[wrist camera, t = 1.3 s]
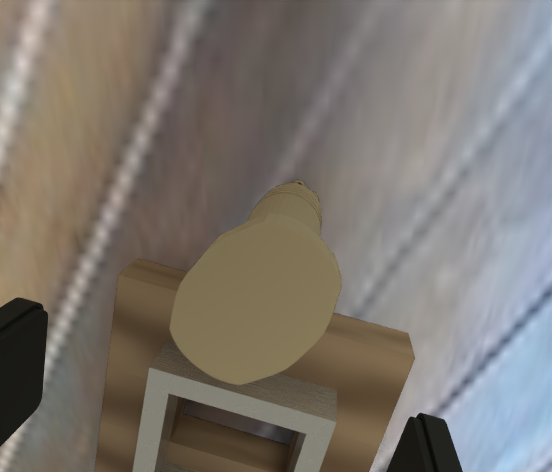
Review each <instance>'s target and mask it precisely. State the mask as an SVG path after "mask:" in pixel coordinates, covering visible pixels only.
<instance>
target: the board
mask: <svg viewBox="0 0 552 472" xmlns="http://www.w3.org/2000/svg"><path fill="white" fill-rule="evenodd" d="M187 273H188V272H185V271H181V270H178V269H174V268H170V267H167V266H163V265H160V264H156V263H152V262H149V261H145V260H142V259H137V260H136V261H134V262H133V263H132V264H131V265H130V266H128V267H127V268H126V269H125V270H123V271H122V272H121V273H120V274H119V275H118V282H117V290H116V298H115V307H114V315H113V323H112V331H111V340H110V348H109V356H108V364H107V372H106V381H105V389H104V397H103V405H102V414H101V422H100V430H99V438H98V447H97V455H96V463H95V471H94V472H132V471H133V465H134V459H135V453H136V447H137V440H138V434H139V428H140V422H141V415H142V409H143V403H144V397H145V391H146V384H147V378H148V372H149V367H150V366H151V364H152V363H153V361H154V360H155V358H156V357H157V356H158V354H159V353H160V351H161V350H162V348H163V347H164V345H165V344H166V343H167V342H170V343H173V344H176V343H175V341H174V339H173V337H172V335H171V332H170V329H169V328H170V323H171V317H172V312H173V307H174V302H175V297H176V294H177V291H178V288H179V286H180V283H181V282H182V280H183V279H184V277H185V276H186V274H187ZM414 360H415V356H414V352H413V349H412V345H411V342H410V338H409V335H408V333H405V332H401V331H397V330H394V329H390V328H387V327H383V326H379V325H376V324H372V323H369V322H365V321H361V320H358V319H354V318H351V317H347V316H343V315H340V314H336V313H333V314H332V317H331V319H330V322H329V324H328V326H327V328H326V330H325V332H324V334H323V335H322V336H321V337H320V339H319V340H318V341H317V342H316V343H315V344H314V345H313V346H312V347H311V348H310V349H309V350H308V351H307V352H306V353H305V354H304V355H302V356H301V357H300V358H299V359H298V360H297V361H296V362H295V363H293V364H292V365H291V366H289V367H288V368H287V369H285V370H283V371H281V372H279V373H278V374H281V375H285V376H288V377H292V378H295V379H299V380H302V381H306V382H309V383H313V384H316V385H320V386H323V387H326V388H330V389H333V390H337V422H336V425H335V428H334V431H333V434H332V436H331V439H330V442H329V445H328V448H327V451H326V453H325V456H324V459H323V462H322V465H321V467H320V470H319V472H369V470H370V468H371V465H372V463H373V460H374V458H375V456H376V453H377V451H378V448H379V446H380V443H381V441H382V438H383V436H384V433H385V431H386V428H387V426H388V424H389V421H390V419H391V416H392V414H393V411H394V409H395V406H396V404H397V401H398V399H399V396H400V394H401V392H402V389H403V387H404V384H405V382H406V379H407V377H408V374H409V372H410V369H411V367H412V364H413V362H414ZM185 402H186V398H182V397H179V396H178V401H177V407H176V412H175V417H174V422H173V427H172V432H171V438H170V443H169V448H168V453H167V458H166V462H169V463H172V464H176V465H179V466H182V467H186V468H189V469H192V470H195V471H199V472H287V470H288V467H289V464H290V461H291V458H292V455H293V452H294V449H295V446H296V442H297V439H298V436H299V433H300V432H298V431H294V434H293V437H292V441H291V444H290V446H289V445H286V444H283V443H279V442H276V441H273V440H269V439H266V438H262V437H259V436H256V435H252V434H249V433H246V432H242V431H239V430H235V429H232V428H229V427H225V426H222V425H219V424H215V423H212V422H208V421H205V420H202V419H198V418H195V417H192V416H188V415H185V414H183V412H184V407H185Z"/></svg>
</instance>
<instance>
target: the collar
mask: <svg viewBox="0 0 552 472" xmlns="http://www.w3.org/2000/svg"><path fill="white" fill-rule="evenodd" d="M178 396H179V397H182V398H186V399H189V400H193V401H196V402H199V403H203V404H206V405H210V406H213V407H216V408H220V409H223V410H227V411H230V412H233V413H237V414H240V415H244V416H247V417H250V418H254V419H257V420H261V421H264V422H267V423H271V424H274V425H278V426H281V427H284V428H288V429H291V430H295V431H298V432H300V433H299V436H298V439H297V442H296V446H295V449H294V452H293V455H292V458H291V461H290V464H289V467H288V470H287V472H319V470H320V467H321V465H322V462H323V459H324V456H325V453H326V451H327V448H328V445H329V442H330V439H331V436H332V434H333V431H334V428H335V425H336V422H337V390H333V389H330V388H326V387H323V386H320V385H316V384H313V383H309V382H306V381H302V380H299V379H295V378H292V377H288V376H285V375H281V374H278V373H277V374H274V375H272V376H268V377H265V378H262V379H259V380H256V381H252V382H249V383H246V384H242V385H237V384H231V383H227V382H224V381H221V380H218V379H216V378H214V377H212V376H210V375H208V374H207V373H205V372H204V371H202V370H201V369H199V368H198V367H196V366H195V365H194V364H193V363H192V362H191V361H190V360H189V359H188V358H186V356H185V355H184V354H183V353H182V352H181V350H180V349H179V348H178V347H177V345H176V344H173V343H170V342H167V343H166V344H165V345H164V347H163V348H162V350H161V351H160V353H159V354H158V356H157V357H156V358H155V360H154V361H153V363H152V364H151V366H150V367H149V372H148V378H147V384H146V391H145V397H144V403H143V409H142V415H141V422H140V428H139V434H138V440H137V447H136V453H135V459H134V465H133V471H132V472H199V471H195V470H192V469H189V468H186V467H182V466H179V465H176V464H172V463H169V462H166V458H167V453H168V448H169V443H170V438H171V432H172V427H173V422H174V417H175V412H176V407H177V401H178Z"/></svg>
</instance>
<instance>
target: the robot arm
mask: <svg viewBox="0 0 552 472" xmlns="http://www.w3.org/2000/svg"><path fill="white" fill-rule="evenodd" d="M47 324H48V313H47V312H46V311H44V309H43V306H42V304H40V303H37V302H34V301H30V300H27V299H23V298H15V299H13V300H12V301H10V302H8V303H7V304H5V305H4V306H2V307H0V446H1V445H2V444H3V443H4V442H5V441H6V440H7V439H8V438H9V437H10V436H11V435H12V434H13V433H14V432H15V431H16V430H17V429H18V428H19V427H20V426H21V425H22V424H23V423H24V422H25V421H26V420H27V419H28V418H29V417H30V416H31V415H32V414H33V413H34V411H35V410H36V409H37V407H38V406H39V404H40V402H41V399H42V391H43V377H44V364H45V351H46V337H47ZM387 472H463V471H462V468H461V465H460V462H459V459H458V456H457V453H456V450H455V447H454V444H453V441H452V439H451V436H450V433H449V430H448V427H447V424H446V422H445V420H443V419H441V418H437V417H434V416H430V415H427V414H423V413H419V414H418V415H417V417H416V418H415V417H410V418H409V419H408V421H407V423H406V426H405V428H404V431H403V433H402V435H401V438H400V440H399V443H398V445H397V448H396V450H395V452H394V455H393V457H392V460H391V462H390V464H389V467H388V469H387Z"/></svg>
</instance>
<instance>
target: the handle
mask: <svg viewBox="0 0 552 472" xmlns="http://www.w3.org/2000/svg"><path fill="white" fill-rule="evenodd" d="M318 202H319V199H318V196H317V194H316V193H315V192H312V191H310V190H309V189H308V188H307V187H306V186H305V185H304V182H302V181H299V180H296V181H295V182H293V183H287V184H283V185H279V186H276V187H275V188H274V189H272V190H271V191H270V192H268V193H267V194H266V195H265V196H264V197H263V198H262V199H261V200H260V201H259V203H258V204H257V205H256V206H255V208H254V209H253V211H252V213H251V214H250V216H249V219H248V221H247V222H246V223H243V224H241V225H239V226H237V227H235V228H233V229H231V230H229V231H227V232H225V233H223V234H221V235H220V236H219V237H218V238H217V239H216V240H215V241H214V242H213V243H212V245H211V246H210V247H209V248H208V249H207V251H206V252H205V253H204V254H203V255H202V256H201V258H200V259H199V260H198V261H197V262H196V264H195V265H194V266H193V267H192V268H191V269H190V271H189V272H188V273H187V274H186V276H185V277H184V279H183V280H182V282H181V283H180V286H179V288H178V291H177V294H176V297H175V302H174V307H173V312H172V317H171V323H170V328H169V329H170V332H171V335H172V337H173V339H174V341H175V343H176V345H177V347H178V348H179V349H180V350H181V352H182V353H183V354H184V355H185V356H186V358H188V359H189V360H190V361H191V362H192V363H193V364H194V365H195V366H196V367H198V368H199V369H201V370H202V371H204V372H205V373H207V374H208V375H210V376H212V377H214V378H216V379H218V380H221V381H224V382H227V383H231V384H237V385H242V384H246V383H249V382H252V381H256V380H259V379H262V378H265V377H268V376H272V375H274V374H277V373H279V372H281V371H283V370H285V369H287V368H288V367H289V366H291V365H292V364H293V363H295V362H296V361H297V360H298V359H299V358H300V357H301V356H302V355H304V354H305V353H306V352H307V351H308V350H309V349H310V348H311V347H312V346H313V345H314V344H315V343H316V342H317V341H318V340H319V339H320V337H321V336H322V335H323V334H324V332H325V330H326V328H327V326H328V324H329V322H330V319H331V317H332V314H333V311H334V308H335V305H336V302H337V299H338V296H339V293H340V290H341V274H340V270H339V266H338V263H337V261H336V258H335V256H334V254H333V252H332V251H331V250H330V248H329V247H328V245H327V244H326V243H325V242H324V241H323V240H322V239H321V238H320V232H321V222H322V218H321V209H320V206H319V203H318Z"/></svg>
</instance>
